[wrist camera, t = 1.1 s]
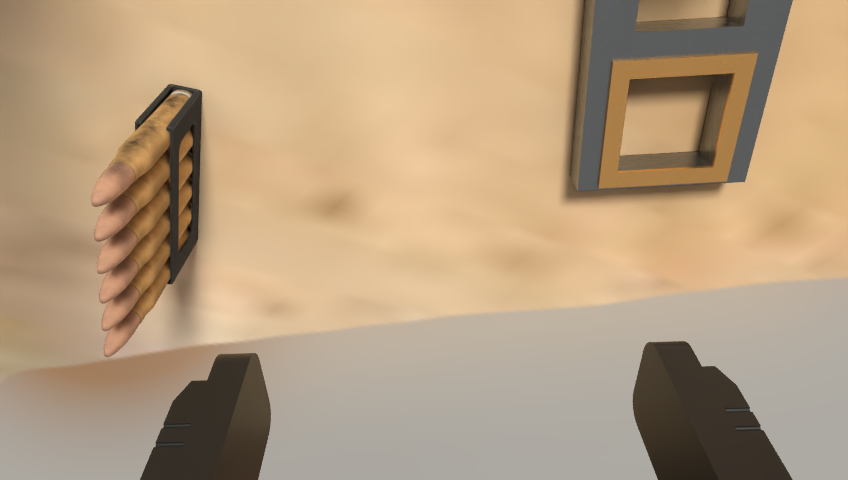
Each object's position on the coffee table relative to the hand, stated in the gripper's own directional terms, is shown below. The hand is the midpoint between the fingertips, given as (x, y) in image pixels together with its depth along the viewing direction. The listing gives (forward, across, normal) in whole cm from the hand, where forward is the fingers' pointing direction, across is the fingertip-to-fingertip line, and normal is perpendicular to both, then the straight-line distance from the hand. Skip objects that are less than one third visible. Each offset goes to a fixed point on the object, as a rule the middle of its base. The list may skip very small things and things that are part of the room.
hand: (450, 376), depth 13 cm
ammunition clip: (+25, +15, +7) cm, 30 cm away
